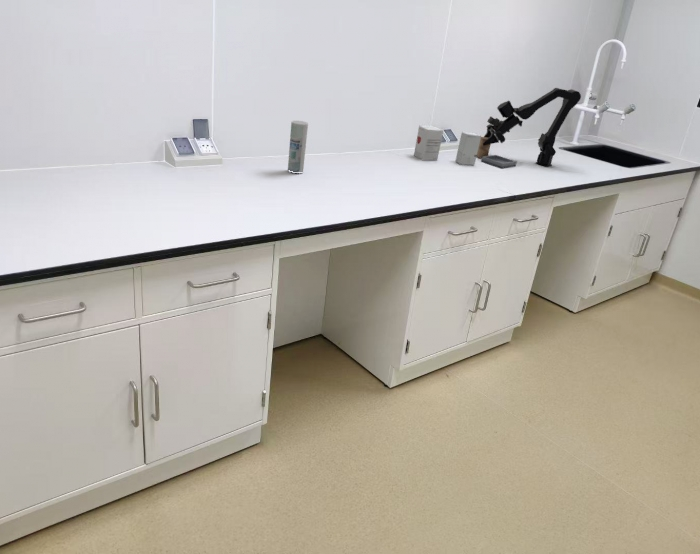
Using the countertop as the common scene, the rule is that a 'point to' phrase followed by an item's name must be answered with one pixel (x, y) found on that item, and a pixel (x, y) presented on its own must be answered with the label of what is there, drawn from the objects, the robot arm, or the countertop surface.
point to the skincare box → (468, 148)
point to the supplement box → (428, 142)
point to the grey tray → (498, 161)
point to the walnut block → (483, 148)
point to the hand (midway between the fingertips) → (481, 143)
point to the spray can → (297, 146)
